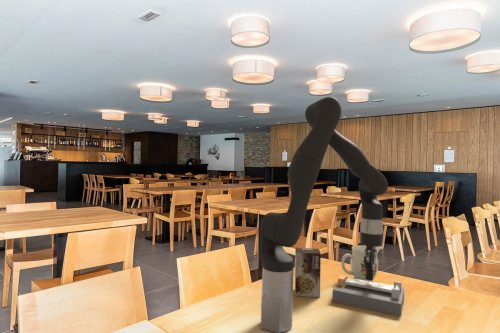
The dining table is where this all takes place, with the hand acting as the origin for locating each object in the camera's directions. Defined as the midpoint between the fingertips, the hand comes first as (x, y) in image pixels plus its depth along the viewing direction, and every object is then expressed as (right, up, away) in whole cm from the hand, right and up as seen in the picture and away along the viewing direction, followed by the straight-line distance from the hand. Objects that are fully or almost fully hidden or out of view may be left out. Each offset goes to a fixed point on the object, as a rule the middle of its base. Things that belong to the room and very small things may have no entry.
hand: (369, 279), depth 120 cm
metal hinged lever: (+1, -3, 0) cm, 3 cm away
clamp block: (0, -7, 0) cm, 7 cm away
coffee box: (-22, -7, +5) cm, 23 cm away
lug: (-9, -3, +5) cm, 10 cm away
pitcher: (+4, -7, +21) cm, 23 cm away
